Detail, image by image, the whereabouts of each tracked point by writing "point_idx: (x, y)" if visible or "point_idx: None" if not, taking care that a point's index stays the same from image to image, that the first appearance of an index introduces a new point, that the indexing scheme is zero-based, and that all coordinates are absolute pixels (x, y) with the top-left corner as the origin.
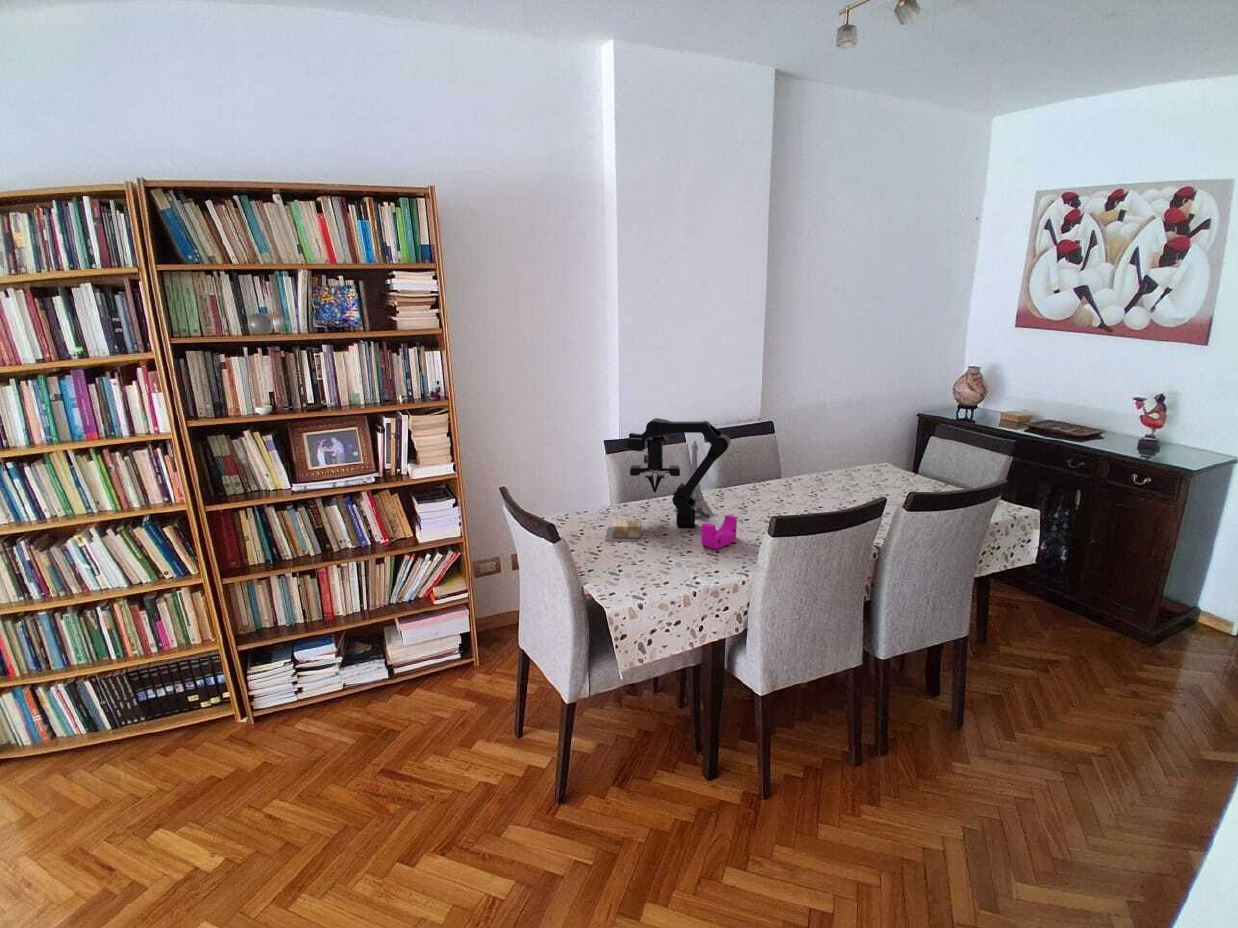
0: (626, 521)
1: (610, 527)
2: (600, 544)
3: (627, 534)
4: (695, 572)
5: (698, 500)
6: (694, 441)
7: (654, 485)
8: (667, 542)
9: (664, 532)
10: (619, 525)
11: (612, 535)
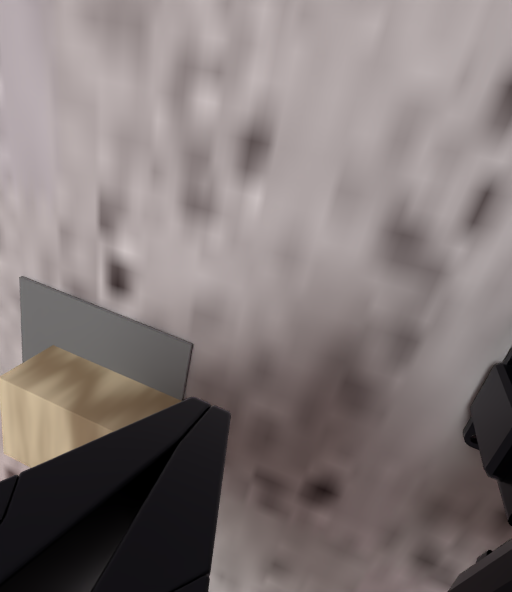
0: (66, 417)
1: (31, 285)
2: (16, 460)
3: None
4: None
5: None
6: None
7: (128, 504)
8: (299, 577)
9: (328, 463)
10: (34, 457)
11: None
